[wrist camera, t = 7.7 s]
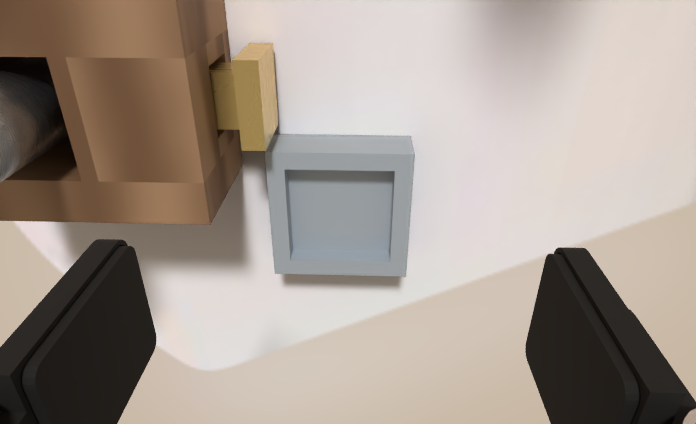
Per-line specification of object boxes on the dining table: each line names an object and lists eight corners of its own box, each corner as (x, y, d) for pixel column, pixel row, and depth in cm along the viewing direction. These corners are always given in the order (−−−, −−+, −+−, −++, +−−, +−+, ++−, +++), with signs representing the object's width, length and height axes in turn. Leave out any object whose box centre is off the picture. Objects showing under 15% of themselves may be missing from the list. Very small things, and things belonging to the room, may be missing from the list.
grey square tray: (410, 136, 29) (414, 154, 27) (403, 251, 33) (405, 276, 30) (272, 134, 29) (264, 151, 27) (281, 249, 33) (275, 273, 31)
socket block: (222, -17, 25) (175, -1, 19) (242, 165, 30) (210, 224, 24) (-11, -18, 26) (-129, -3, 20) (46, 162, 30) (-34, 219, 24)
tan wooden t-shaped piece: (272, 43, 26) (258, 60, 23) (278, 123, 28) (265, 150, 25) (136, 41, 26) (101, 58, 23) (152, 122, 28) (122, 148, 25)
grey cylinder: (108, 43, 27) (-109, 134, 15) (124, 115, 29) (-56, 249, 17) (35, 43, 27) (-240, 133, 15) (57, 114, 29) (-172, 246, 17)
